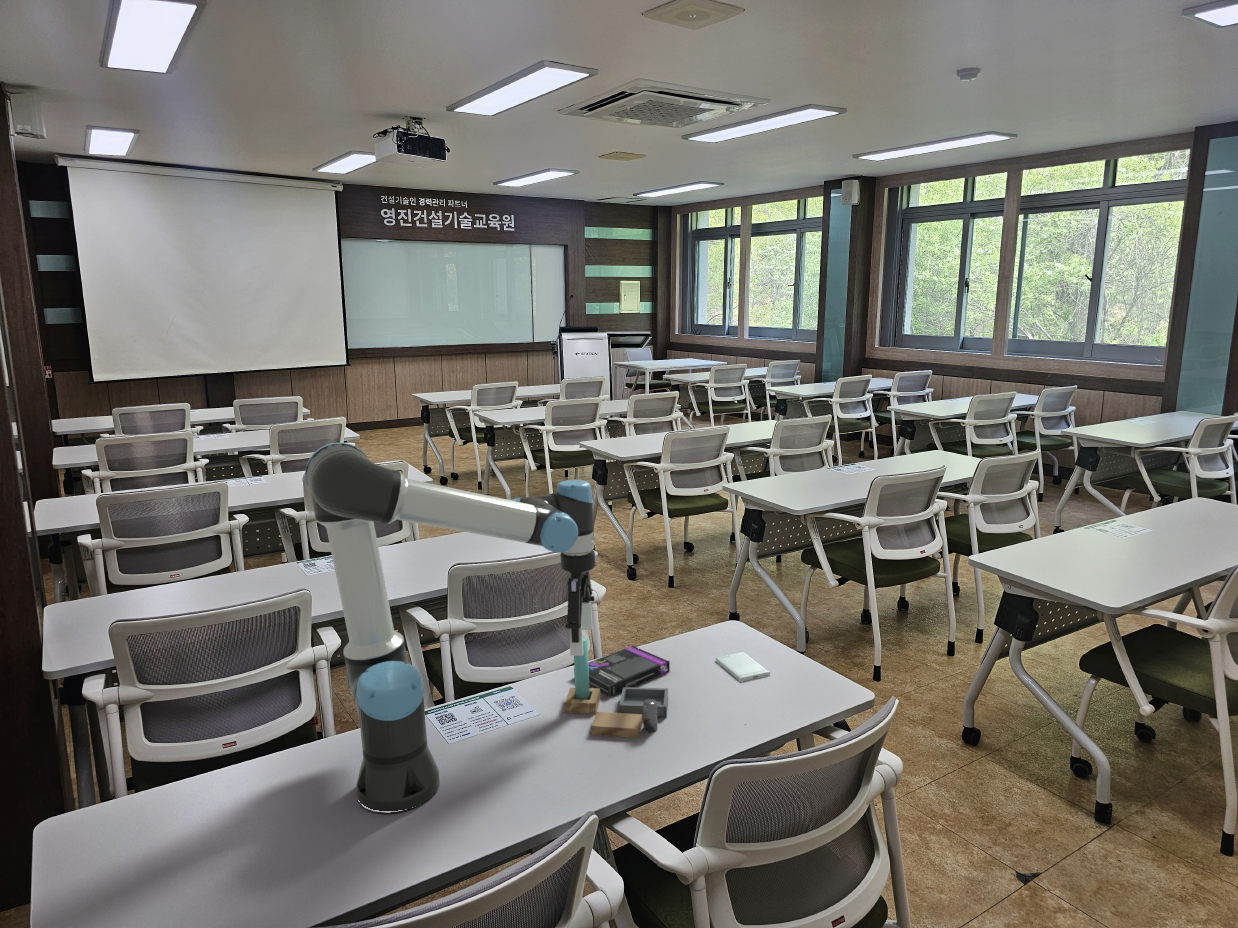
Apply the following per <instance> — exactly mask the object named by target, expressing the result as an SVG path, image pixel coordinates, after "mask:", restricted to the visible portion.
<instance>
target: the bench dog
mask: <svg viewBox="0 0 1238 928" xmlns="http://www.w3.org/2000/svg"><path fill="white" fill-rule="evenodd" d="M642 726H643V731H645V732H647V733H654V732H657V731H658V717H657V701H656V700H653V699H647V700H645V701H643V717H642Z"/></svg>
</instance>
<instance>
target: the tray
mask: <svg viewBox="0 0 1238 928" xmlns="http://www.w3.org/2000/svg"><path fill="white" fill-rule="evenodd" d="M647 699H653V700H656V701H657V718H667V717H668V706H669V688H667V687H665V688H661V687H623V690H622V692H621V696H620V700H619V704H618V709H619V710H618V713H627V714H642V718H643V701H645V700H647Z"/></svg>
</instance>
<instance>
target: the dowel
mask: <svg viewBox="0 0 1238 928" xmlns="http://www.w3.org/2000/svg"><path fill="white" fill-rule="evenodd" d="M588 643H589V642H588V638H587V637H585V636H583V656H573V665H574V666H573V673H574V672H575V676H574V688H575V695H576V699H579V700H590V692H589V688H590V686H589V666H588V663H589V647H588V646H589V645H588Z"/></svg>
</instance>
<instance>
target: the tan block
mask: <svg viewBox="0 0 1238 928" xmlns="http://www.w3.org/2000/svg"><path fill="white" fill-rule="evenodd" d="M642 726H643V717H642V714H627V713H619V712H610V711H609V712H608V711H597V712H596V714H594V719H593V721H592V723H591V736H601V737H602V736H603V737H620V738H634V739H639V737H640V734H641V732H642V731H641V730H642Z"/></svg>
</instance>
